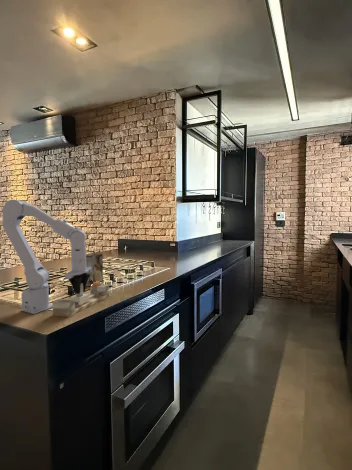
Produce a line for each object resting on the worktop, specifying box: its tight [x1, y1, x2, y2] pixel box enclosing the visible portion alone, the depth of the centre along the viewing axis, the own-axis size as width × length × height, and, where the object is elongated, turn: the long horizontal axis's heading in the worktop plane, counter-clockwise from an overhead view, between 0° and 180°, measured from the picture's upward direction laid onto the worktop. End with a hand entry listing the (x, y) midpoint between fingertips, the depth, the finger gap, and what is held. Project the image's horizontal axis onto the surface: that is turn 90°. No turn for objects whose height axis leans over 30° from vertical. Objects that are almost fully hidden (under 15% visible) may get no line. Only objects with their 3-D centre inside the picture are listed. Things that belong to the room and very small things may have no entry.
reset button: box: [93, 281, 100, 286], centre depth 134 cm, size 2×2×3 cm
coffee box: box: [86, 253, 104, 286], centre depth 155 cm, size 9×6×16 cm
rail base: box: [51, 283, 110, 318], centre depth 123 cm, size 28×7×5 cm, turn 161°
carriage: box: [70, 283, 90, 306], centre depth 120 cm, size 6×4×8 cm
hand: (79, 292), depth 120 cm, fingers closed on carriage, 3 cm apart
